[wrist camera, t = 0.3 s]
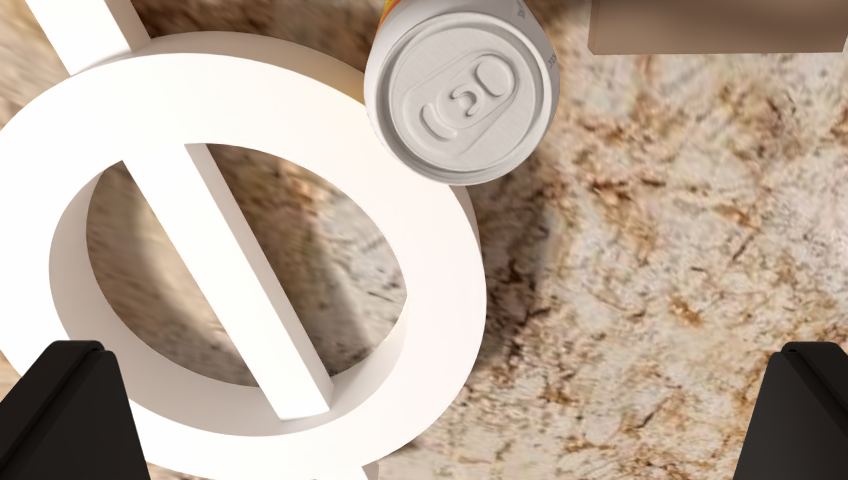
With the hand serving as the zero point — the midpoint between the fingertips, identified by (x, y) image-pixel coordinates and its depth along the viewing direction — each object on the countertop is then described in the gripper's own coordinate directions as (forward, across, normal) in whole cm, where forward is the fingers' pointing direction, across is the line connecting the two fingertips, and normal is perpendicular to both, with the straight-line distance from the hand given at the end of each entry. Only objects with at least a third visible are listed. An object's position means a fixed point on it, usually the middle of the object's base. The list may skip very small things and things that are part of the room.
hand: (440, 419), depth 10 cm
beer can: (+27, -1, -2) cm, 27 cm away
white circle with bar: (+28, +11, +13) cm, 33 cm away
